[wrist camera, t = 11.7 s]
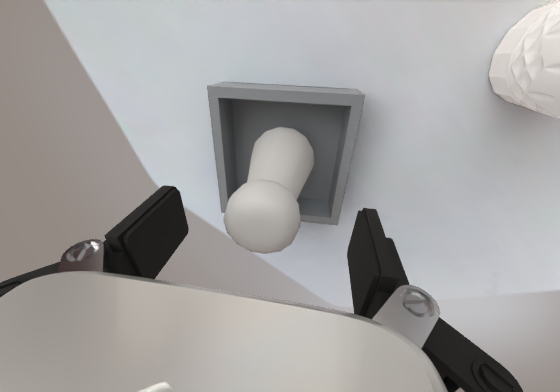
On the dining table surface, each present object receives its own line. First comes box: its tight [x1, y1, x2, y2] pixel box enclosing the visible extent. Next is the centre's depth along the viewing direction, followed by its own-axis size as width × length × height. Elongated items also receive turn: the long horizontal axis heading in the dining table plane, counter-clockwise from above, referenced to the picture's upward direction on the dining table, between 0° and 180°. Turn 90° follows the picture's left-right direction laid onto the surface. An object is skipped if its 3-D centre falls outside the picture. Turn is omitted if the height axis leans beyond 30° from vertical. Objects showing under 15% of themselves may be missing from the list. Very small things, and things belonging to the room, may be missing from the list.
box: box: [207, 82, 365, 225], centre depth 22 cm, size 12×12×4 cm
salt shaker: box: [224, 127, 314, 254], centre depth 18 cm, size 6×6×13 cm
